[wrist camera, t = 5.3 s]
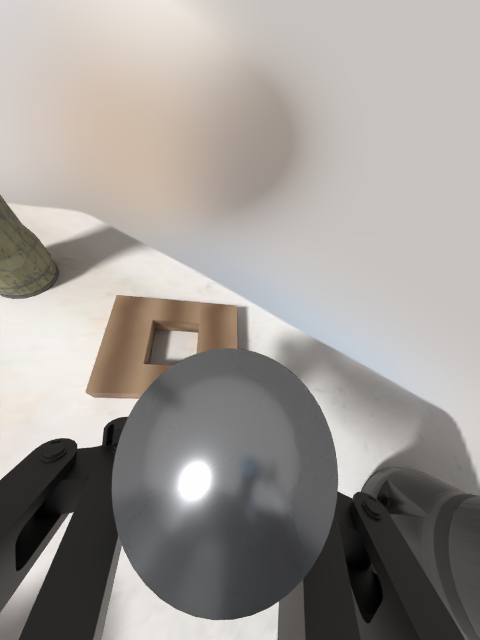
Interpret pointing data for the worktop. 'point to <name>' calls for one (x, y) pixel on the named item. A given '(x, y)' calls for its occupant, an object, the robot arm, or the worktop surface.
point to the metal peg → (224, 484)
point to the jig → (137, 339)
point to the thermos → (22, 259)
